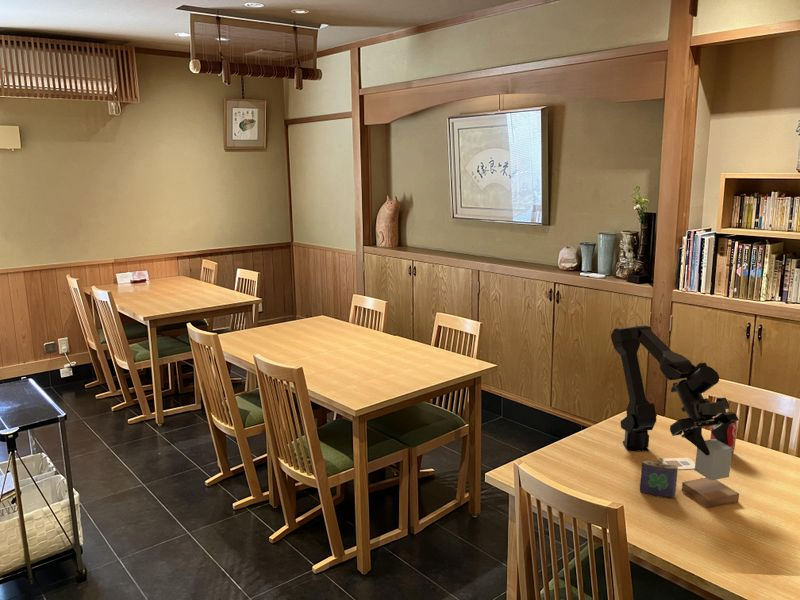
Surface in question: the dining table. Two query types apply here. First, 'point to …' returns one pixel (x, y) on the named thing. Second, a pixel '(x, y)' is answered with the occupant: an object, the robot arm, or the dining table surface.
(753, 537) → the dining table surface
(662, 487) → the flask
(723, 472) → the tower block
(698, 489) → the base brick
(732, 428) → the soda can
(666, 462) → the page
